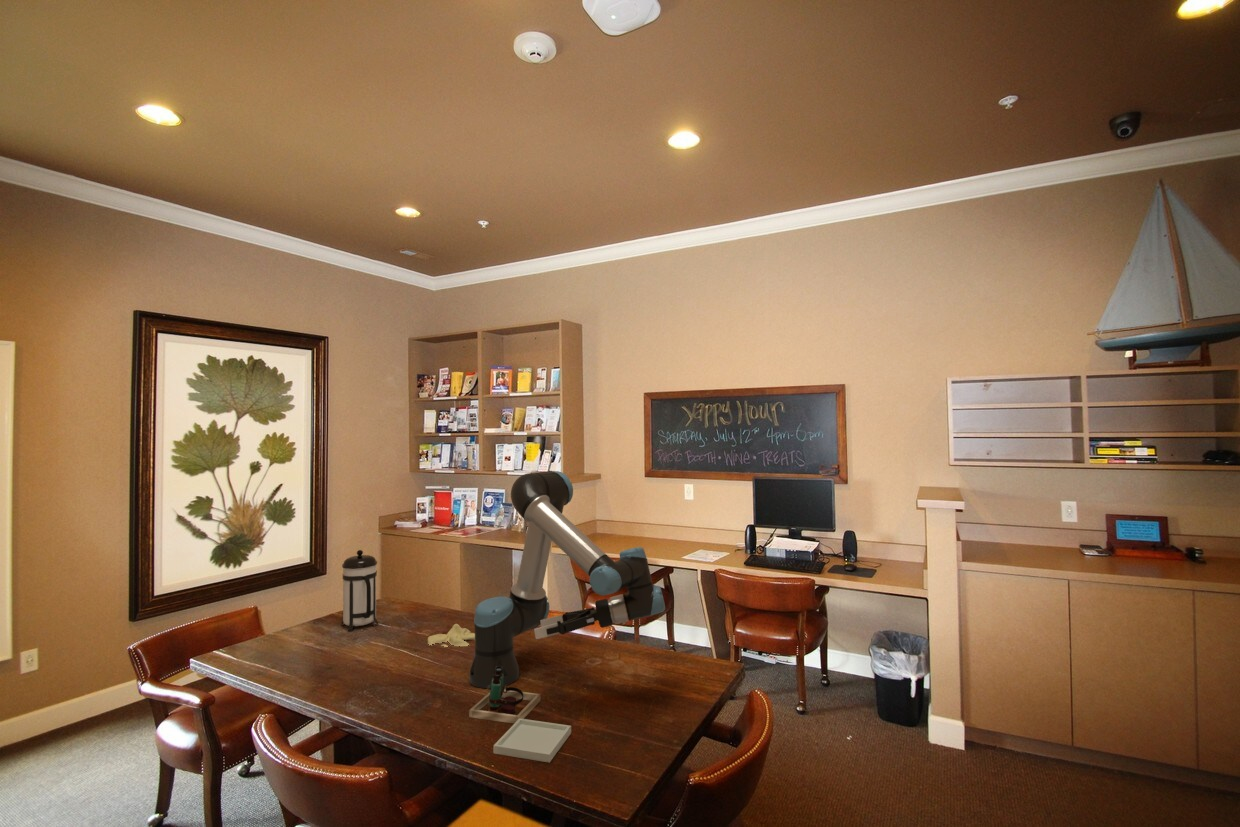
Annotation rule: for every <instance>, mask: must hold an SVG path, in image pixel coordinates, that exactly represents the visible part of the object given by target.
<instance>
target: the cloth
mask: <svg viewBox="0 0 1240 827" xmlns="http://www.w3.org/2000/svg"><path fill="white" fill-rule="evenodd" d="M464 640H465V641H464ZM447 641H448V642H449V643H450V644H451V645H454V646H453V647H459V646H460V647H469V646H470V645H469V644H470V643H469V642H467V641H475V632H471V630H469V628H466V627H461V626H460V625H459V624H458V623H455V624H453V625H452V628H450V629H449V631H448V632H447V633H446V634H445V633H444V634H443V633H438V634H433V635H430V636H428V637H427V645H428V644H429V645H428V646H430V645H431V646H433V645H432V644H434V645H436V644H435V643H439V644H441V645H440V647H442V646H444V647H443V648H445V647H448V646H449V645H450V644H449V643H448V642H447ZM442 642H445V643H448V644H445V643H442ZM451 645H450V646H451ZM468 645H469V646H468Z"/></svg>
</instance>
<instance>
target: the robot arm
mask: <svg viewBox="0 0 1240 827" xmlns="http://www.w3.org/2000/svg"><path fill="white" fill-rule="evenodd" d="M573 495H574V487H573V483H572V482H571V480H570V478H569V477H568V476H567V475H566V474H565V473H563V472H562V471H559V470H547V471H542V472H541V471H539V472H528V473H524V474H522V475H520V476H519V477H517V479H516V480H515V481H514V482H513V484H512V485H511V490H510V499H511V503H512V506H513V507H514V509H515V511H516V512H517V513H518V514H519V515H520V517H521V518H522V519H524V520H525V521H526V522H527V523H528V525H527V530H526V533H525V534H526V536H525V540H524V544H523V545H524V546H523V550H522V556H521V559H520V566H519V569H518V570H519V571H518V576H517V579H516V580H517V581H516V583H514V584H513V585H512V586H511V588H510V592H509V597H508V596H502V595H501V596H495V597H490V598H487V599H484V600H482V601H481V602H479V603H478V604H477V606H476V607H475V610H474V618H473V622H474V633H475V640H474V657H473V659H472V662H471V666H470V670H469V673H468V675H469V678H468V680H469V683H470V684H471V686H473V687H477V688H482V689H488V685H491V683H492V679H493V675H495V674H496V672H495V667H497V666H502V667H503V671H502V672H501V674H504V681H503V687H504V686H505V687H507V686H508V685H511V684H513V683H515V682H516V681H517V680H518V679H519V677H520V666H519V664H518V662H517V658H516V655H515V652H514V637H517V636H519V635H521V634H524V633H526V632H528V631H532V630H534V636H535V640H539V639H543V638H544V639H545V638H547V637H551V636H555V635H560V634H561V635H565V634H568V633H571V632H574V631H576V630H579V629H580V630H581V629H583V628H587V627H589V626H593V625H595V623H596V622H597V621H598V624H599V626H600V628H603V629H604V628H607V627H612V626H613V624H614V625H619V624H621V623H622V625H626V622H630V621H634V620H638V619H644V618H647V617H652V616H654V615H655V616H656V615H658V614H661V613H663V612H665V610H666V603H665V600H664V596H663V592H662V588H661V586H659V585H654V583H653V580H652V576H651V571H650V567H649V562H648V557H647V556H646V555H647V554H646V552H645V549H644V547H641V546H637V547H632V548H631V547H630V548H627V549H624V550H621V551H620V552H619V559H618V560H613V559H612V558H611V557H610V556H609V555H607V554H606V553H605V552H604V551H603V550H602V549H601V548H600V547H599V546H598V545H597V544H596V543H594V542H593V541H592V540H591V539H590V538H589V537H588V536H587V535H586V534H585V533H583V532H582V530H581V529H579V528H578V527H577V526H576V525H575V524H574V523H573V522H572V521H570V520H569V519H568V518H567V517H566V516H565V515H564V514H563V511H564V506H567V505H568V504H569V503H570V502H571V501H572V499H573ZM552 542H553V543H554V544H555V545H556V546H557V547H558V548H559V549H560V550H561V551H562V552H563V553H564V554H565V555H566V556H567V557H569V559H570V560H572V562H574V563H575V564H576V565H577V566H578V567H579V568H581V570H583V572H584V573H585V574H587V575H588V577H589V585H590V586H591V590H592V591H593V592H594V593H595V594H596V595H600V596H608V595H612V594H615V593H617V592H618V591H619V590H622V589H625V588H626V589H627V593H624V594H623V593H622V594H618V595H614V596H610V597H609V599H608V598H602V599H598V600H595V602H594V603H595V604H594V606H595V607H590V608H586V609H585V608H584V609H580V610H574V611H568V612H565V613H563V614H560V615H556V616H552V617H548V616H549V614H550V601H549V598H548V597H547V593H546V592H547V591H546V589H544V587H543V586H544V581H545V578H546V577H545V576H546V572H547V568H548V561H549V556H550V552H551V547H552ZM539 626H540V627H539ZM506 685H507V686H506Z"/></svg>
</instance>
